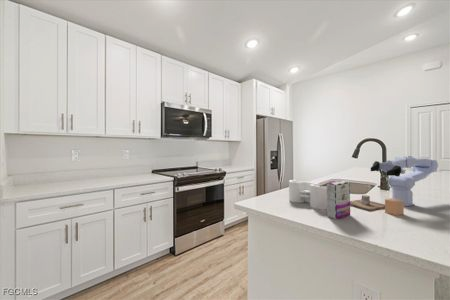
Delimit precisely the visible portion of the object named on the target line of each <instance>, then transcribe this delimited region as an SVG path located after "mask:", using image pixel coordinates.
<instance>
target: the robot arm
mask: <svg viewBox="0 0 450 300" xmlns="http://www.w3.org/2000/svg"><path fill="white" fill-rule="evenodd" d="M438 166H439V163H438V161H437V160H436V159H430V158H416V157H413V156H412V155H408V156H403V157H400V156H399V157H396V156H395V158H394V159H393V160H386V161H385V162H380V161H376V160H375V161H374V162H373V163H372V166H371V167H370V172H380V170H381V171H383V172H384V173H386V176H389V178H388V179H387V181H388V182H387V183H388V185H389V187H390V188H391V189H392V191H391V192H392V194H391V195H392V197H391V198H393V199H398V200H402V201H404V208H405V207H408V206H415V203H414V201H413V200H414V198H413V195H414V194H413V191H412V189H413V188H414V187H415V185H416V182H419V181H422V180H425V179H426V178H427V177H429V176H430V174H432V173H435V172H437V169H438V168H439V167H438ZM405 168H406V169H407V168H408V169H411V168H412V172H410V173H407V174H406V169H405Z"/></svg>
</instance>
